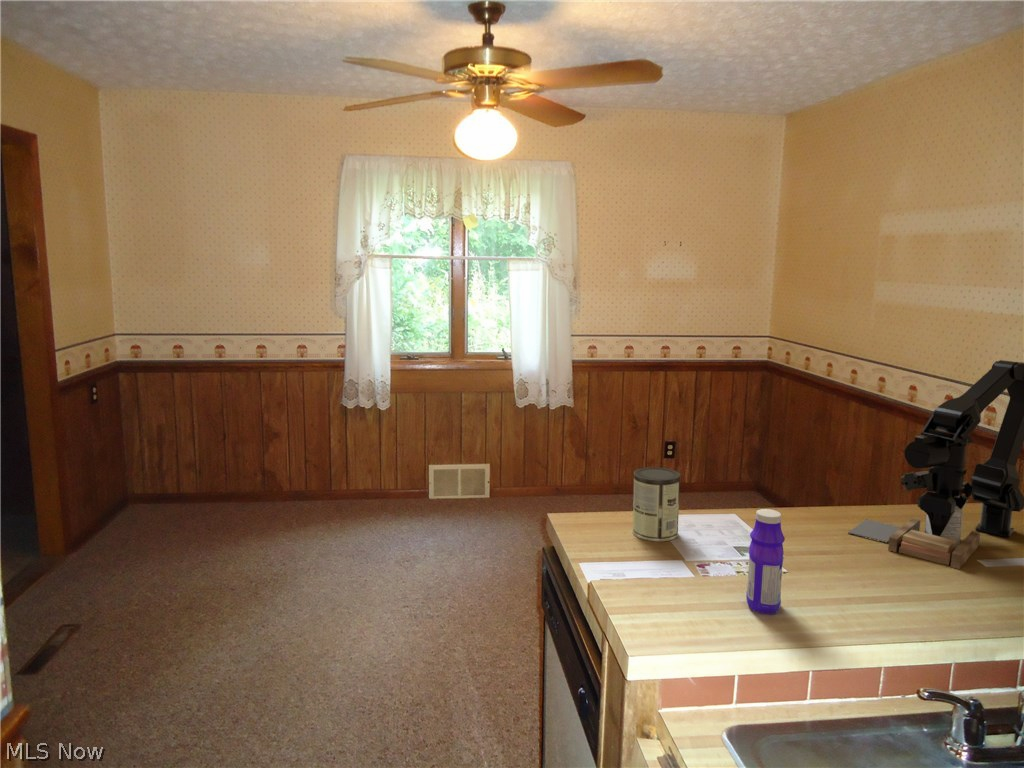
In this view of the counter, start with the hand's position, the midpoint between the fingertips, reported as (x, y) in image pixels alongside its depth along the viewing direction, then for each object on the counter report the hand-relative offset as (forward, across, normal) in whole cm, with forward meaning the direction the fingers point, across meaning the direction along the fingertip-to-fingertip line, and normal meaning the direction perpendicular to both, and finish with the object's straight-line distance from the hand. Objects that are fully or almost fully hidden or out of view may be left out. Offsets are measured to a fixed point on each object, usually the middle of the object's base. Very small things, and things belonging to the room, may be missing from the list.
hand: (941, 532), depth 150 cm
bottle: (+2, +57, -14) cm, 59 cm away
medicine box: (+2, 0, 0) cm, 2 cm away
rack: (+2, +5, 0) cm, 6 cm away
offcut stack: (+2, +10, 0) cm, 11 cm away
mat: (+2, +4, -12) cm, 13 cm away
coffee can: (+2, +41, -47) cm, 62 cm away
